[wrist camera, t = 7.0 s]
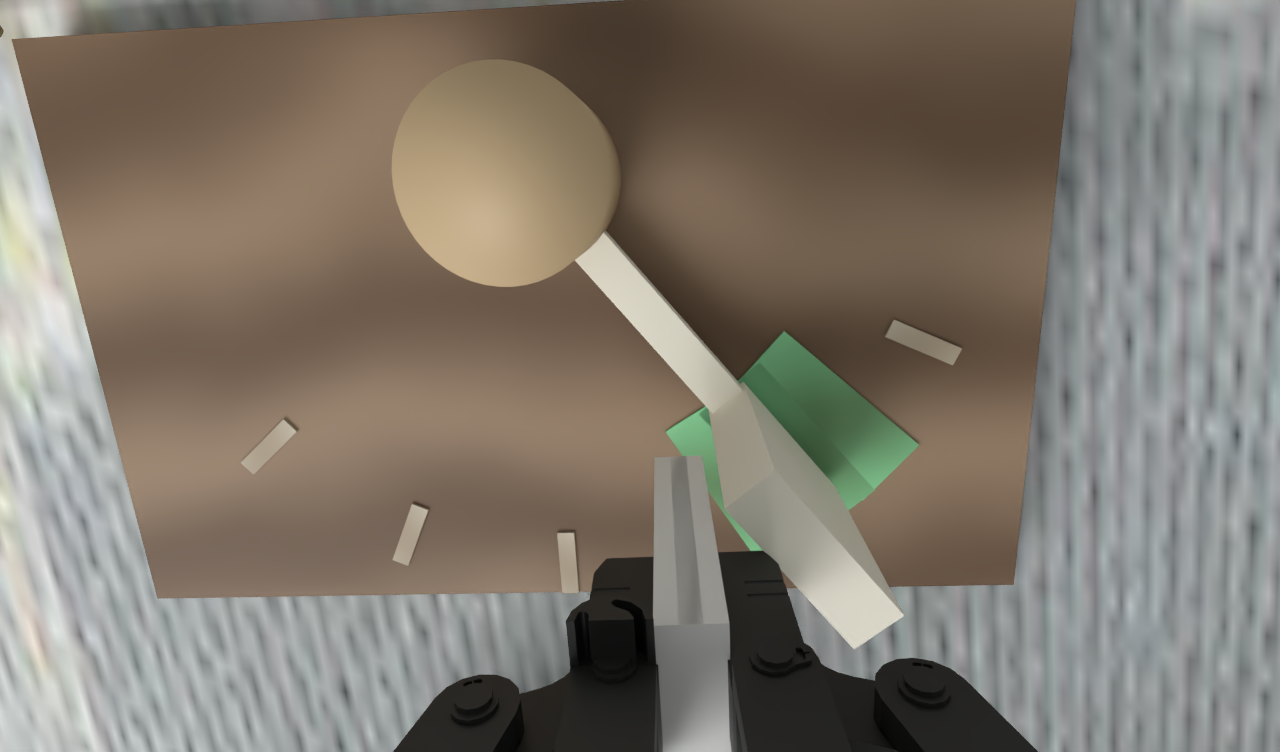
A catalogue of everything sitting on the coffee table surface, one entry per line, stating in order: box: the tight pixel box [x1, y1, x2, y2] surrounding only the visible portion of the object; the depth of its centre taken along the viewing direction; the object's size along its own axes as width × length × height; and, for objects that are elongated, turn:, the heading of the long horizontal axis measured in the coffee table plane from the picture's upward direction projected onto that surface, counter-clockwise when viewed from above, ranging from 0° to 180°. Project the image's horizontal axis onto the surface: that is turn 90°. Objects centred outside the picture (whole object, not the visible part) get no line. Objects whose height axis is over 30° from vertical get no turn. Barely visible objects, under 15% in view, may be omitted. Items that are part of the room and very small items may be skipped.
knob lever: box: [392, 59, 904, 649], centre depth 15 cm, size 14×4×6 cm, turn 42°
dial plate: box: [12, 0, 1076, 598], centre depth 20 cm, size 16×26×2 cm, turn 93°
